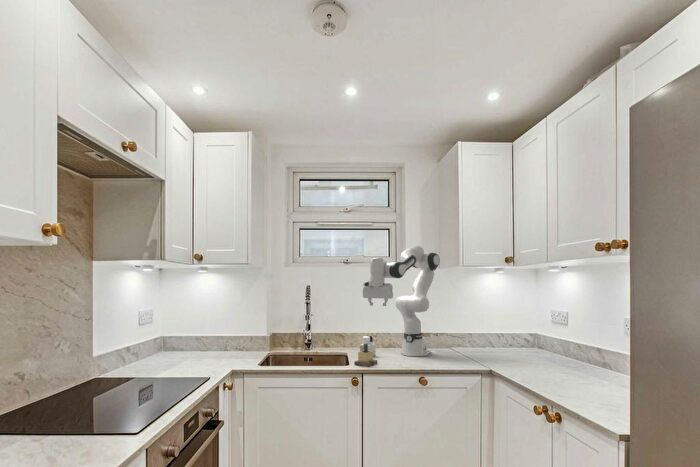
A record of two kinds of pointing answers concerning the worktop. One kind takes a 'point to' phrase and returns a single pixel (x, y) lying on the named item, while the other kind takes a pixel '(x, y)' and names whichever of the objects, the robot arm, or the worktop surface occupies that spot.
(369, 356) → the collar
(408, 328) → the robot arm
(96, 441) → the worktop surface
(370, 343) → the container
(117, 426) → the worktop surface
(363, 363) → the post board
